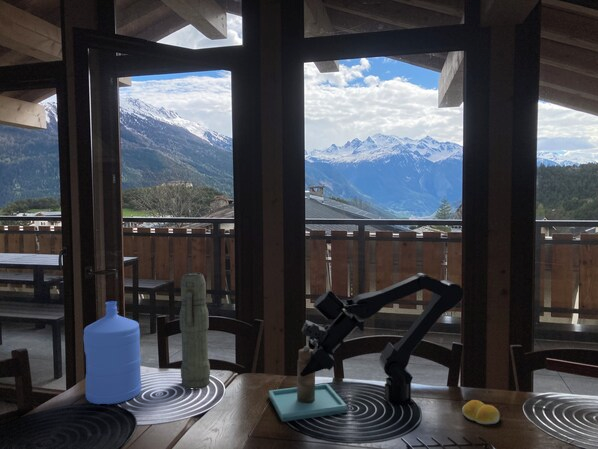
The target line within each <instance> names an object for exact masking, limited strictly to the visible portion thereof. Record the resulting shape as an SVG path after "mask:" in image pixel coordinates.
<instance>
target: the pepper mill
mask: <svg viewBox="0 0 598 449" xmlns="http://www.w3.org/2000/svg"><path fill="white" fill-rule="evenodd" d="M311 351H313V349H310V348H309V347H308V345H305V346H304V347H303V348H301V349H299V350H298V360H297V370H296V371H297V373H296V374H297V382H296V383H297V384H296V385H297V386H296V387H297V400H298V401H299V402H301V403H312V402H314V401H315V385H316V372H314V373H311V374H308V375H306V376H303V377H302V376H301V375H300V372H301V371H302V369H303V368H304V367H305V365H306V364H307V362H308V361H309V360H310V358H311Z"/></svg>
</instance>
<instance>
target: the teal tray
mask: <svg viewBox="0 0 598 449" xmlns="http://www.w3.org/2000/svg"><path fill="white" fill-rule="evenodd" d="M268 398H269V399H270V401H271V402H270V403H271V404H272V405H273V407H274V409H275V411H276V413H277V415H278V416H279V419H280V420H281V422H282V423H283V422H291V421H298V420H305V419H311V418H312V419H313V418H320V417H325V416H332V415H339V414H346V413H348V406H347V404H346V402H344V401H343V399H342V398H341V397H340V396H339V395H338V393H336V391H335V390H334V389H333V388H332V387H331V386H330V384H328V383H322V384H321V383H320V384H315V401H314V402H312V403H301V402H299V401H298V400H297V386H296V387H288V388H287V387H286V388H279V389H271V390H268Z"/></svg>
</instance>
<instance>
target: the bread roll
mask: <svg viewBox="0 0 598 449" xmlns="http://www.w3.org/2000/svg"><path fill="white" fill-rule="evenodd" d="M461 412H462V414H463V416H464V417H465V418H466V419H469V420H470V421H473V422H476V423H478V424H481V425H493V424H497V423H498V422H499V421H500V414H501V413H500V411H499V409H497V408H496V407H495V406H494V405H492V404H485V403H484V402H482V401H481V400H478V399H471V400H470V401H468V402H466V403H465V404H464V405H463V406H462V408H461Z"/></svg>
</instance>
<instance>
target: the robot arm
mask: <svg viewBox="0 0 598 449" xmlns="http://www.w3.org/2000/svg"><path fill="white" fill-rule="evenodd" d="M422 290H427V291H429V292H431V293H432V294H431V297H430V300H429V303H428V304H427V306H426V307H425V308H424V309H423V311H422V312H421V313H420V314H419V315H418V317H417V318H416V319H415V321H414V322H413V323H412V324H411V325H410V327H409V328H408V329H407V331H406V332H405V333H404V334H403V336H402V337H401V338H400V340H399V341H398V342H396V343H394V344H392V343H391V342H388V343H387V344H386V346H385V347H384V349H383V350H381V351H380V356H379V362H378V363H379V364H380V367H381V369H382V370H383V373H385V374H386V376H388V377H386V378H385V383H384V395H383V398H385V399H386V400H387V401H388V402H389V403H390V404H391V405H392V406H400V405H408V404H413V403H414V402H415V400H414V399H412V380H413V376H412V374H411V373H410V372H409V370H408V369H407V366H408V365H409V362H410V359H411V355H412V353H413V352H414V350H415V349H416V348H417V347H418V345H419V344H420V343H421V342H422V340H423V339H425V337H426V336H427V334H428V333H429V332H430V331H431V329H432V328H433V327H434V326H435V324H436V323H437V322H438V320H439V319H440V318H441V317H442V316H443V315H444V314H445V313H447V312H449V311H450V310H452V309H454V308H455V307H456V306H457V305H458V304H459V303H461V302H462V301H463V299H464V295H465V294H464V290H463V288H462V287H461V286H460V285H459V284H457V283H455V282H453V281H451V280H447V279H445V280H438V279H436V278H433V277H431V276H430V275H428V274H425V273H423V272H418V273H416V274H414V275H413V276H411V277H409V278H406V279H404V280H402V281H400V282H397V283H395V284H393V285H390V286H388V287H385V288H382V289H381V290H377V291H370V292H369V291H368V292H365V293H360V294H356V295H355V296H354V297H353V298H350V299H342V300H341V299H340V298H339V297H338V296H337V295H336V294H335V292H333V291H332V289H328V291H327V292H324V293H323V294H322V295H320V296H319V297H318V298H317V299H316V300H315V301H314V303H313V305H312V306H313V308H314V309H315V310H317V312H318V313H319V314H320V315H322V317H324V318H325V319H326V320H327V321H329V320H330V321H333V322H331V324H325V325H324V326H321V325H319V324H317V323H314V322H312V321H310V320H307V319H306V320H305V322H304V323H303V326H302V327H301V333H302V335H304V336H305V337H308V339H307V346H308V347H309V348H310V349H313V351H311V358H310V360H309V361H308V362H307V364H306V365H305V367H304V368H303V369H302V371H301V372H300V375H301V376H302V377H303V376H306V375H308V374H311V373H314V372H315V373H316V372H319V371H322V370H328V371H331V370H332V369H333V368H334V367H335V359H334V356H333V355H335V351H336V349H337V348H338V347H339V346H340V345H341V346H344V344H345V340H346V339H347V338H348V337H349V336H350V335H351V334H352V333H353V332H354V331H355V329H357V328H358V329H359V330H360V331H361V332H364V331H365V328H364V327H365V321H364V320H366V319H369V318H371V317H372V316H373V317H374V315H376V314H378V312H380V311H381V310H383V308H384V307H385V306H387V305H389V304H391V303H394V302H396V301H399V300H400V299H403V298H405V297H408V296H410V295H412V294H415V293H417V292H420V291H422ZM356 316H357V317H358V318H359V319H358V318H357V317H356Z"/></svg>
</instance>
